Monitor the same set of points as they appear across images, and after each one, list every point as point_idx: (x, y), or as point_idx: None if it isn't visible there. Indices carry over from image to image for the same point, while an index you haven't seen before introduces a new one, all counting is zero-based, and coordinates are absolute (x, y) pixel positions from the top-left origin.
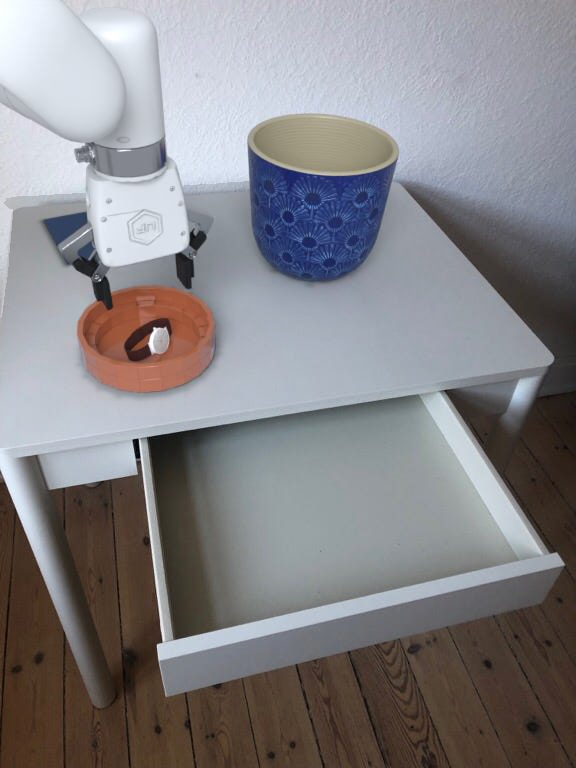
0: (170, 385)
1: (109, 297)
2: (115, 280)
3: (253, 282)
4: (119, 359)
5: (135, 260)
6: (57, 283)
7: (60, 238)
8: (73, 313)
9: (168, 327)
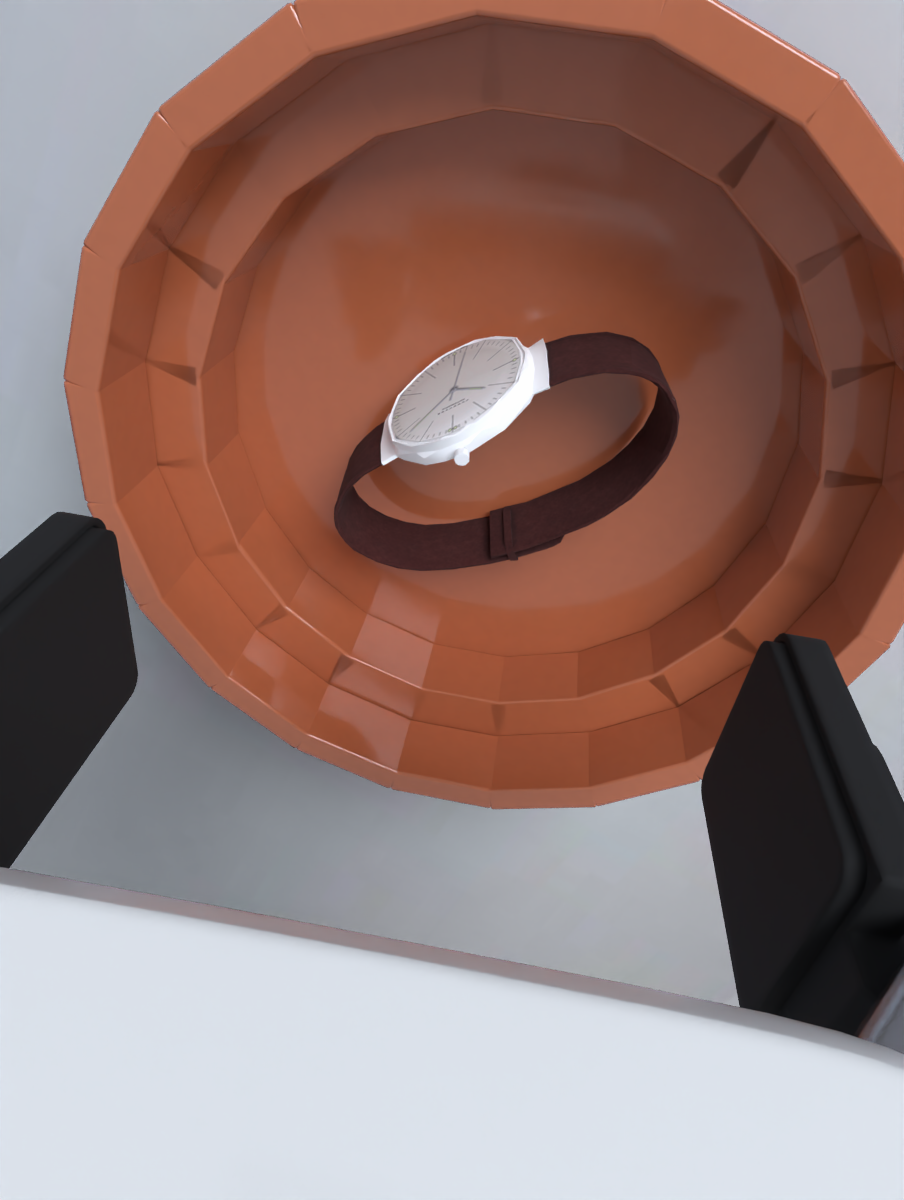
0: None
1: (823, 718)
2: (404, 859)
3: None
4: (688, 440)
5: (568, 1043)
6: (595, 939)
7: None
8: (646, 802)
9: (363, 462)
